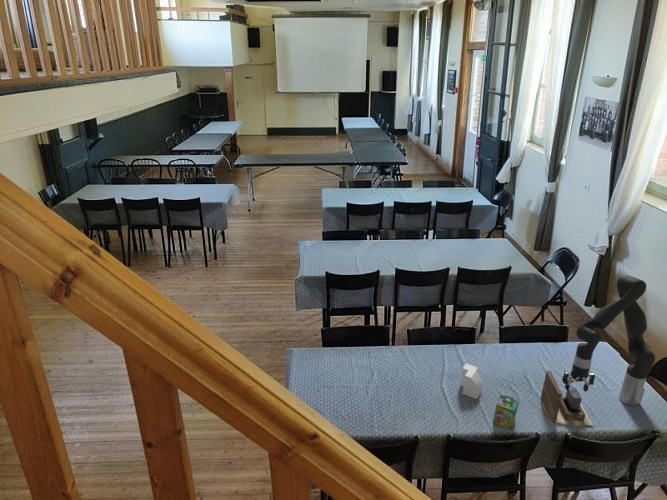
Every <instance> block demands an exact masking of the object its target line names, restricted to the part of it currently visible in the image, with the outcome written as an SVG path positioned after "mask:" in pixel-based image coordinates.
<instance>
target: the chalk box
mask: <svg viewBox="0 0 667 500" xmlns="http://www.w3.org/2000/svg"><path fill="white" fill-rule="evenodd" d="M518 407H519V401H518V400H516V399H515V398H514V397H512V396H508V395H500V396H499V398H498V400H497V403H496V405H495V410H494V415H493V420H492V423H493V424H495V425H498V426H500V427H503V428H505V429H508V430H510V429H511V430H512V429H513V427H514V423H515V420H516V416H517V413H518Z"/></svg>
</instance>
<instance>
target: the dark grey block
mask: <svg viewBox="0 0 667 500" xmlns="http://www.w3.org/2000/svg"><path fill="white" fill-rule="evenodd" d="M564 397H565V401H564V403H565V405H566V407H567V409H568V411H569V412H578V411H579V407H580V403H581V404H582V399H583V397H582V396H581V395H580V393H579V391H578V390H577V388H576V387H571V386H570V387H569V391H567V390H566V394H565V396H564Z"/></svg>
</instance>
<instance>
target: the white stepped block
mask: <svg viewBox="0 0 667 500" xmlns="http://www.w3.org/2000/svg"><path fill="white" fill-rule="evenodd" d="M478 369H479V368H478V367H477V366H474V365H472V364H469V363H466V364H464V366H463V367H462V371H461V372H462V373H461V378H460V379H461V380H460V387H462V386H463V387H462V394H463V395H465V394H466V395H465V396H468V397H471V398H473V399H475V400H478V399H479V396H480V395H481V394H482V391H483V385H484V384H483V383H484V380H483V378H482V377H481V376H480V375H479V373H478Z"/></svg>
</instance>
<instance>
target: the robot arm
mask: <svg viewBox="0 0 667 500" xmlns="http://www.w3.org/2000/svg"><path fill="white" fill-rule="evenodd" d="M616 290H617V291H616V292H617V294H618V297H619V299H618V300H616V301H614V302H611V303H609V304H607V305H605V306H602V308H600V310H599V311H598V312H597V313H596V314H595V315H594V316H593V317H592V318H590V319H588V320H587V321H585V322H584V323H582V324H581V325H579V327H577V330H576V333H575V334H576V336H577V338H579V340H582V341H583V342H580V343H578V345H577V347H576V351H575V352H576V353H575V355H574V358H573V362H572V367H571V371H570V372H568V371H566V370H565V371H564V372H563V376H562V379H561V381H562V382H563V384H564V388H565V390H566V392H567V391H569V387H570V388H571V384H573V383H575V382H581V383H582V382H584V384H583V392H587V391H589V387H590V385H591V386H593V385H594V383H595V379H596V378H595V377H596V376H595V374H594V372H592V371H591V372H590V370H591V365H592V357H593V353H594V351H595V350H596V347H597V346H598V344H599V343H600V342H601V339H602V336H601V334H600V332H599V331H597V330H595V329H599V330H605V329H607V327H608V326H609V325H610V324H611V323H612V322H613V321H614V320H615V318H616V317H618V316H619V315H620V314H621V313H622V312H623V319H624V326H625V329H626V334H627V335H626V336H627V341H628V342H627V343H628V344H627V345H628V346H627V347H628V349H627V350H628V351H627V352H628V355H629V357H630V358H631V359H632V361H634V362H635V363H634V364H629V365H627V368H626V371H625V375H624V377H623V380H622V381H623V382H622V384H621V389H620V392H619V394H618V399H619V401H621V402H622V403H623V404H625V405H627V406H630V407H631V406H632V407H635V406H638V405H641V403H642V400H643V397H644V394H645V388H644V387H645V384H646V381H647V377H648V375H649V374H651V371H652V369H653V366H654V363H655V361H656V355H655V354H654V352H653V351H652V350H650V349H649V348H648V347H647V345H646V343H645V339H644V334H645V333H646V331H647V329H648V324H647V318H646V317H647V316H646V313H645V312H644V310H643V309H642V308H641V306H640V304H639V303H638V300H639V299H640V298H641V297H643V295H644V294H645V293H646V291H647V284H646V282H645V281H644V280H643V279H640V278H637V277H634V276H630V275H626V274H624V275H621V276H620V277H618V279H617V282H616ZM587 379H588V380H587Z"/></svg>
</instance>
